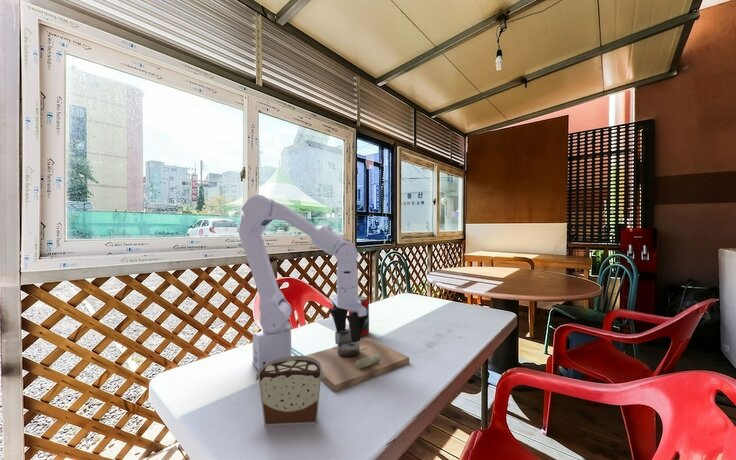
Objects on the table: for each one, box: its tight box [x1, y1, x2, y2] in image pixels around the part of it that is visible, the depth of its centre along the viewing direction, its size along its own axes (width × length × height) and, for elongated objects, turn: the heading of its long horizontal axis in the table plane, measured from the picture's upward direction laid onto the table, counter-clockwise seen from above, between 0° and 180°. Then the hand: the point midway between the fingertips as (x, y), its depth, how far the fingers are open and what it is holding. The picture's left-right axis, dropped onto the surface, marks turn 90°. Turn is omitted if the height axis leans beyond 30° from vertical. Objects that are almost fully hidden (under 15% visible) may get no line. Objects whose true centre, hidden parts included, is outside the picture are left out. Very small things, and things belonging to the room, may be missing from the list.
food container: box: [254, 355, 325, 427], centre depth 55 cm, size 12×6×10 cm, turn 92°
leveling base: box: [304, 337, 410, 393], centre depth 76 cm, size 22×18×4 cm
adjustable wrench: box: [291, 346, 305, 356], centre depth 86 cm, size 14×1×5 cm
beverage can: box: [348, 295, 370, 337], centre depth 98 cm, size 7×7×12 cm
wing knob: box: [334, 327, 362, 357], centre depth 79 cm, size 7×6×6 cm
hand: (348, 336), depth 79 cm, fingers open, 7 cm apart
